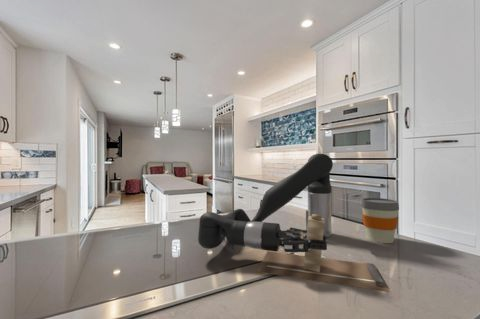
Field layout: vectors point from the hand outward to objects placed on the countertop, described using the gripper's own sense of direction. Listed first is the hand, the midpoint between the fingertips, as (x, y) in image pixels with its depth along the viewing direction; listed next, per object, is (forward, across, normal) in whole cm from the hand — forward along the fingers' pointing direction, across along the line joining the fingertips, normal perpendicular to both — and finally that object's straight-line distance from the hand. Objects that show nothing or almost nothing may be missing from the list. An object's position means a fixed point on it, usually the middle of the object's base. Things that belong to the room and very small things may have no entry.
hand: (326, 242), depth 60 cm
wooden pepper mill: (-4, 0, -7) cm, 8 cm away
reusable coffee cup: (+21, -37, -9) cm, 43 cm away
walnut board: (-2, 0, -9) cm, 9 cm away
